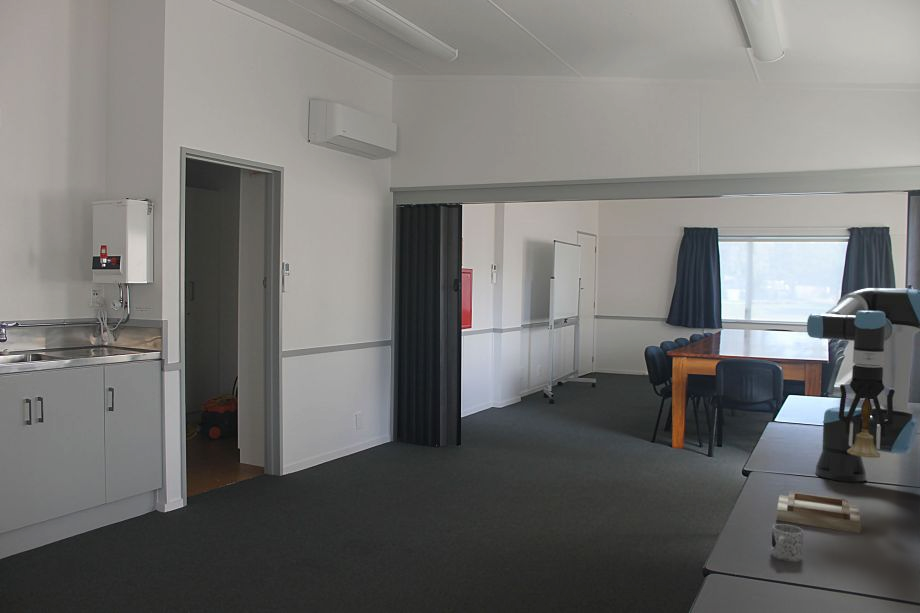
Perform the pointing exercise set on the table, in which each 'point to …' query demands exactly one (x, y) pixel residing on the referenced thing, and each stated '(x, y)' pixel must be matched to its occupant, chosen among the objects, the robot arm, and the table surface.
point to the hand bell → (864, 435)
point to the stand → (819, 511)
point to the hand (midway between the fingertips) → (863, 446)
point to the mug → (787, 542)
